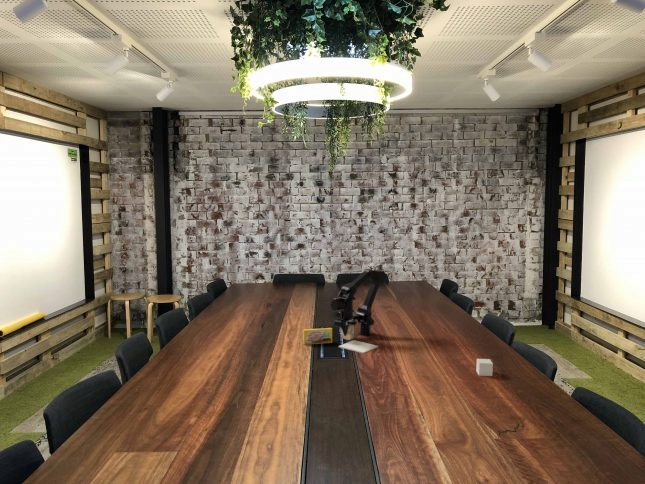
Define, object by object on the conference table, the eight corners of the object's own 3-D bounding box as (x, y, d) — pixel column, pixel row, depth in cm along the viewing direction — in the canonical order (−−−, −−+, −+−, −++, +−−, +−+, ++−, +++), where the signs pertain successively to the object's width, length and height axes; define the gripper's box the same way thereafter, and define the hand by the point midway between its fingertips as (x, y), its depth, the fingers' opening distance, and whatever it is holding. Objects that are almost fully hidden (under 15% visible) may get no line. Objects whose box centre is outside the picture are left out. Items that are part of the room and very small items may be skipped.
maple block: (345, 336, 288) (345, 323, 287) (353, 338, 284) (353, 324, 283) (341, 338, 285) (341, 324, 284) (349, 340, 281) (349, 326, 280)
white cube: (476, 371, 234) (476, 358, 234) (489, 371, 234) (489, 359, 233) (478, 375, 228) (479, 363, 228) (492, 376, 228) (492, 363, 227)
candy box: (303, 345, 272) (303, 330, 271) (303, 344, 274) (303, 329, 273) (332, 343, 276) (332, 328, 275) (331, 341, 278) (331, 327, 277)
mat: (353, 341, 279) (353, 340, 279) (377, 347, 269) (377, 345, 269) (338, 347, 268) (338, 346, 268) (363, 353, 258) (363, 352, 258)
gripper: (346, 303, 295) (345, 328, 296) (326, 308, 280) (326, 335, 282) (361, 306, 288) (361, 332, 289) (342, 311, 273) (341, 339, 275)
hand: (347, 334), depth 284 cm, fingers closed on maple block, 4 cm apart
